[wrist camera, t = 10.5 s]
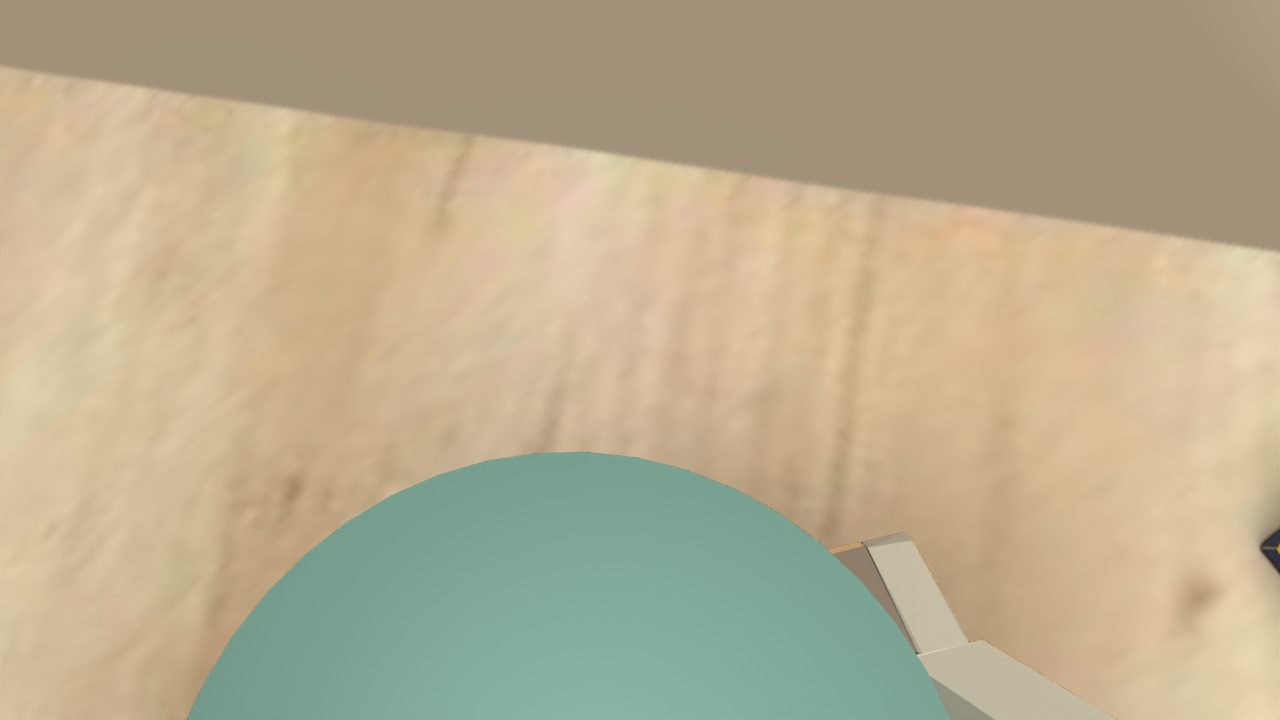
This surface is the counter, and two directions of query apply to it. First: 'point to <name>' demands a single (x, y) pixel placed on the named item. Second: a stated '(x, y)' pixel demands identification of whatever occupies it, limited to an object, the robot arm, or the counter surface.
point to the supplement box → (1273, 549)
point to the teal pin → (569, 609)
